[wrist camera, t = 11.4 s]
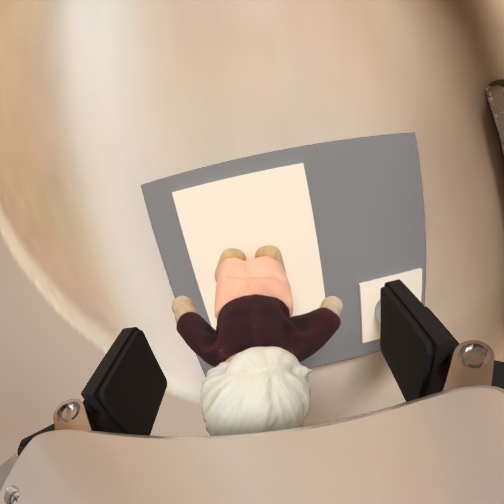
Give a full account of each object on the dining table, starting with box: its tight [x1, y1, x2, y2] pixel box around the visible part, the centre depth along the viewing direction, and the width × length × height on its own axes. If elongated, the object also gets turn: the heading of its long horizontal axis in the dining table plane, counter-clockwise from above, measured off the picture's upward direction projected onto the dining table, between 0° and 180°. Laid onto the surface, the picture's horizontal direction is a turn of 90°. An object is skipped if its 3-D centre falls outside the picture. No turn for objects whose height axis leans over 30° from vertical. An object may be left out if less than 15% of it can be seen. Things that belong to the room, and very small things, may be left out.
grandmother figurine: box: [172, 245, 343, 436], centre depth 13 cm, size 8×4×13 cm, turn 103°
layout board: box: [141, 132, 426, 376], centre depth 20 cm, size 18×16×2 cm
